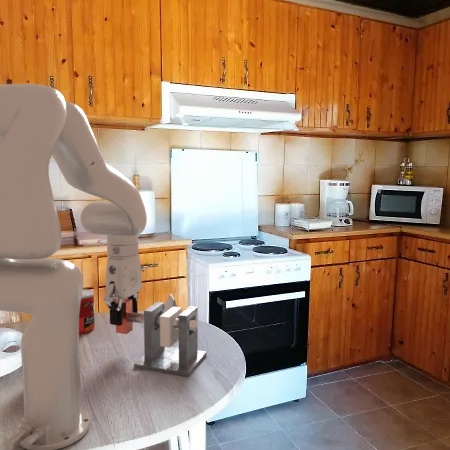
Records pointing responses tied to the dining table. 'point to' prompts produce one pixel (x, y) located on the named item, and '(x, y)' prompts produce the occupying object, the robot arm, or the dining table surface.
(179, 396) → the dining table surface
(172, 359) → the bearing block
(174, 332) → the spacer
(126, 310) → the shaft
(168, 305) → the grey pointed block
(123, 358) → the dining table surface
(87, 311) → the canned food
